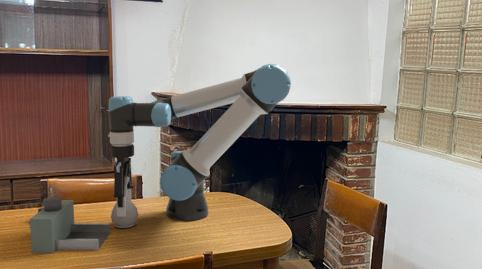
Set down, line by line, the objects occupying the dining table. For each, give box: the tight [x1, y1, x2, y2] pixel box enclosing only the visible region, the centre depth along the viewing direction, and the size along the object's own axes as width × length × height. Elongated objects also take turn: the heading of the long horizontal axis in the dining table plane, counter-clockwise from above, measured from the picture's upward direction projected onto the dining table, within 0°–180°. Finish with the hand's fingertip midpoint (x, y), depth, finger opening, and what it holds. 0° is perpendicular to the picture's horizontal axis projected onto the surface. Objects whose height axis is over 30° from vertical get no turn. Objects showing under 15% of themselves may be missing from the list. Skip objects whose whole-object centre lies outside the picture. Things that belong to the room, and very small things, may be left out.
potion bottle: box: [110, 176, 139, 229], centre depth 148 cm, size 9×9×18 cm
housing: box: [29, 196, 75, 254], centre depth 135 cm, size 6×18×13 cm, turn 2°
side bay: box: [55, 222, 111, 251], centre depth 136 cm, size 12×14×3 cm
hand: (124, 211), depth 149 cm, fingers closed on potion bottle, 8 cm apart
